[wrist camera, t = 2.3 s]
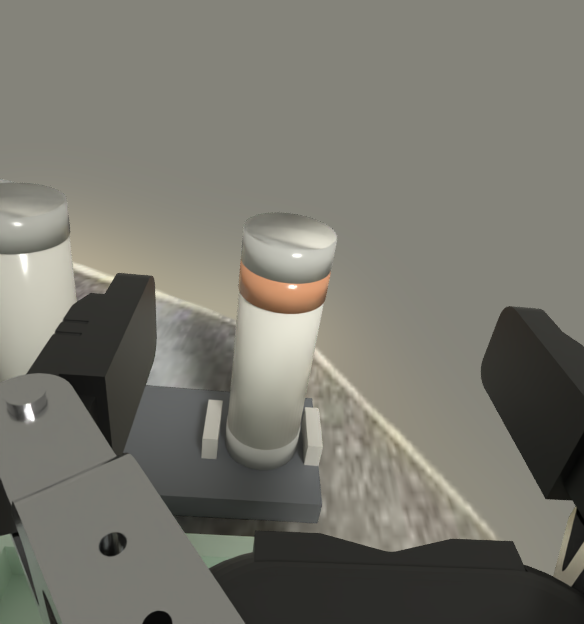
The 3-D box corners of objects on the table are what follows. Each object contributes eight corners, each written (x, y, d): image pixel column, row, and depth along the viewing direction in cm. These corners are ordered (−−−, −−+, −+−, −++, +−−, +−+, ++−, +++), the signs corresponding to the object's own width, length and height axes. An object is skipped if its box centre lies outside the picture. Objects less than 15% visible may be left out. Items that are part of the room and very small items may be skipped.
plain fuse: (-7, 452, 26) (-69, 211, 19) (27, 398, 29) (-16, 178, 22) (76, 458, 26) (45, 223, 19) (99, 403, 30) (80, 189, 23)
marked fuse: (221, 467, 27) (241, 245, 20) (227, 413, 30) (246, 208, 23) (298, 472, 27) (342, 256, 20) (295, 418, 31) (332, 218, 24)
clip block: (-45, 502, 25) (-59, 460, 23) (24, 393, 31) (16, 355, 30) (317, 523, 26) (326, 485, 25) (308, 415, 33) (315, 380, 32)
